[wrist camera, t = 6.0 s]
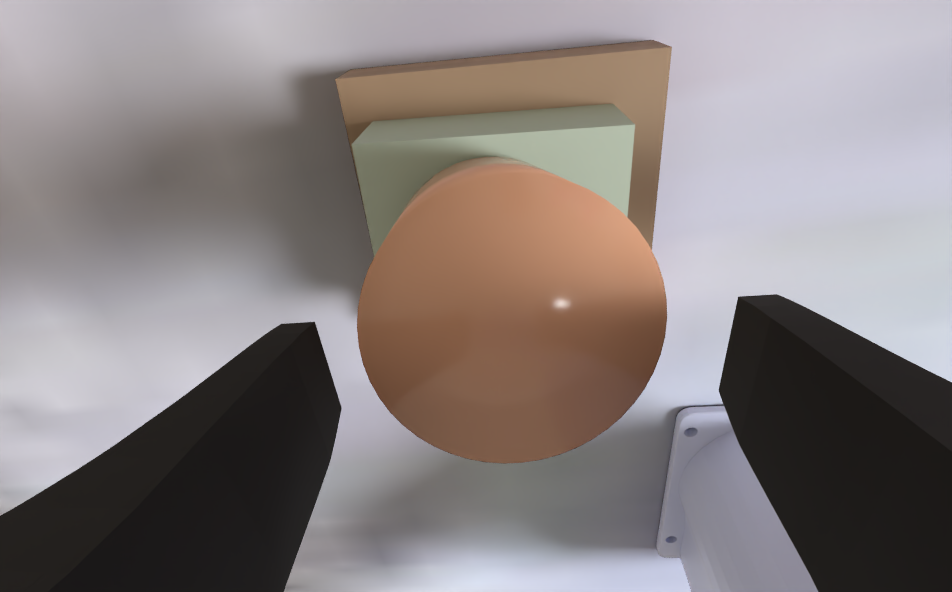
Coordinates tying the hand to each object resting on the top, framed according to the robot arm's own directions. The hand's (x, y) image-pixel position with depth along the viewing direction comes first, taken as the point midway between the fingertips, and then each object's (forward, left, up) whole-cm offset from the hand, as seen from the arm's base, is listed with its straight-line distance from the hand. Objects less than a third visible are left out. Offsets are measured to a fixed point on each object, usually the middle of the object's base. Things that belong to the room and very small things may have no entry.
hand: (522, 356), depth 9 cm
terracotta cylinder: (0, +1, -3) cm, 3 cm away
